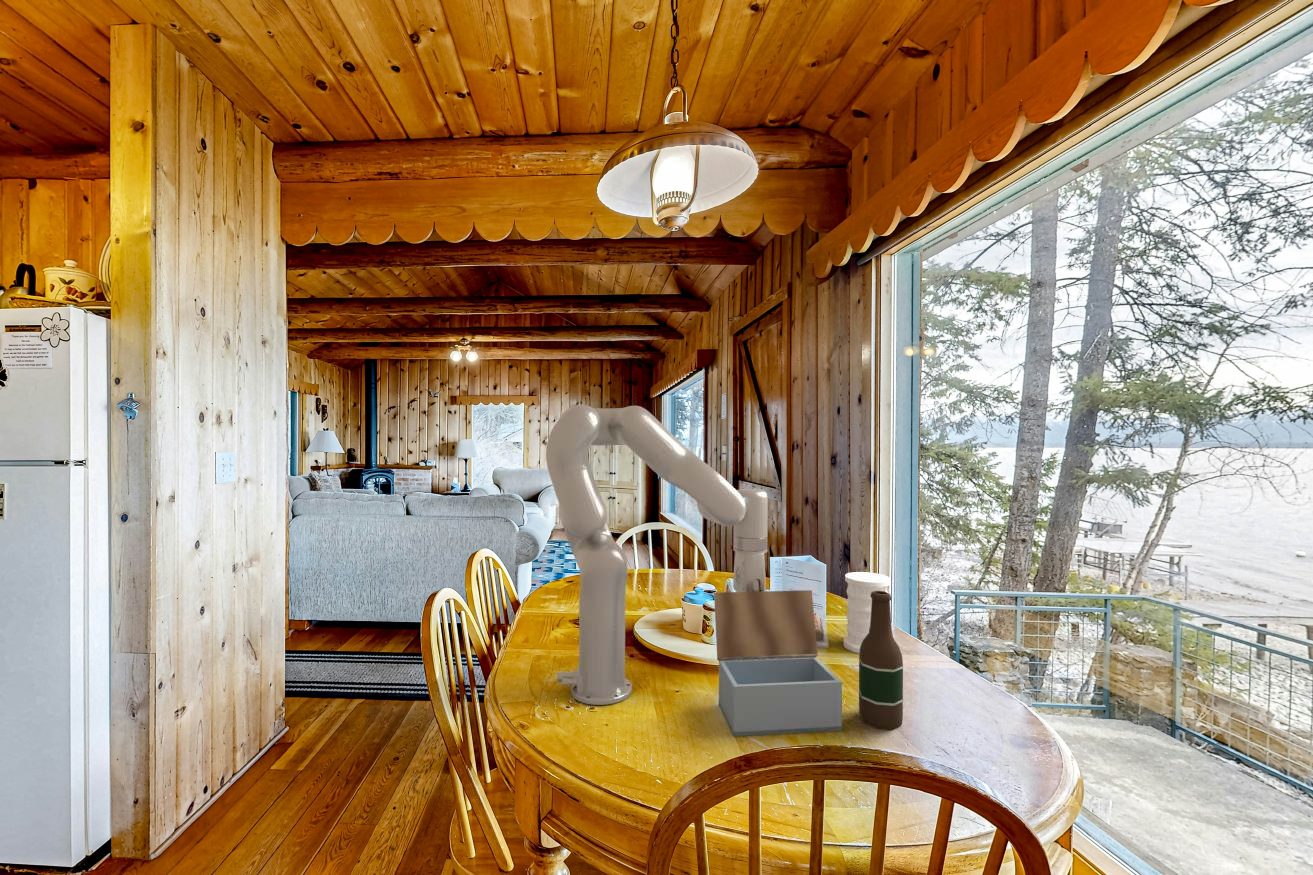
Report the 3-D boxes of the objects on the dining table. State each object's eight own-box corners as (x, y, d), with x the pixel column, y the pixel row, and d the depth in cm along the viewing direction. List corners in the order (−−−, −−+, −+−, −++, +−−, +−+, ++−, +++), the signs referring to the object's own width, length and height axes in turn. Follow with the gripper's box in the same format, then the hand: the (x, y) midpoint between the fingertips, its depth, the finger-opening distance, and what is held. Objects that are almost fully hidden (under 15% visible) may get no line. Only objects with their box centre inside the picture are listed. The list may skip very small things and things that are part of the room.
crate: (733, 736, 98) (734, 686, 98) (718, 704, 110) (718, 660, 110) (841, 730, 100) (842, 681, 100) (815, 700, 112) (815, 656, 112)
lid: (714, 592, 113) (714, 592, 114) (718, 660, 110) (717, 660, 110) (811, 590, 115) (810, 590, 116) (817, 656, 112) (816, 656, 113)
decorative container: (869, 637, 149) (869, 570, 150) (902, 652, 139) (902, 580, 139) (833, 642, 145) (834, 573, 146) (864, 658, 135) (865, 584, 135)
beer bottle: (899, 735, 99) (899, 600, 99) (854, 723, 103) (854, 593, 103) (905, 717, 106) (906, 590, 106) (863, 706, 110) (863, 585, 110)
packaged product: (789, 607, 161) (825, 610, 159) (789, 624, 161) (825, 627, 159) (788, 627, 144) (829, 630, 141) (788, 646, 144) (829, 649, 141)
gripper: (725, 538, 131) (725, 616, 131) (743, 550, 116) (742, 638, 116) (756, 538, 132) (756, 615, 132) (777, 550, 117) (777, 637, 117)
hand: (749, 626), depth 124 cm, fingers closed
